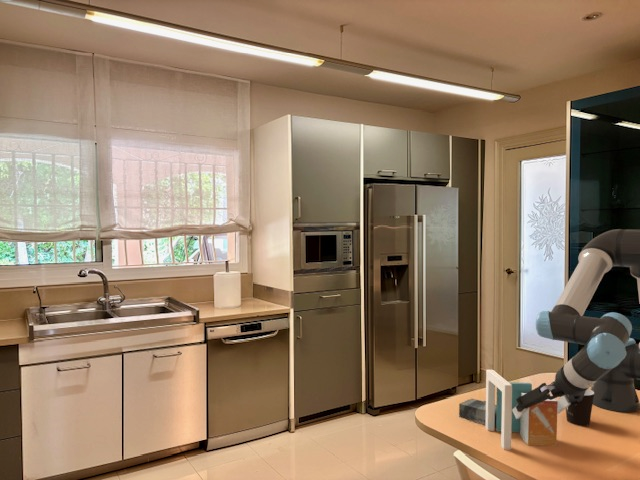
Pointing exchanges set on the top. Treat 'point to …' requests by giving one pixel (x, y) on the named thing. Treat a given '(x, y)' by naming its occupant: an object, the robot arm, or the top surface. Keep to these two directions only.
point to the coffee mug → (581, 410)
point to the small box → (540, 423)
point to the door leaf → (516, 393)
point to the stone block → (474, 411)
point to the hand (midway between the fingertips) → (535, 412)
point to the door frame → (506, 388)
